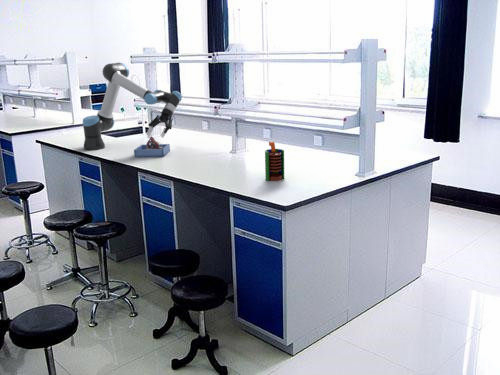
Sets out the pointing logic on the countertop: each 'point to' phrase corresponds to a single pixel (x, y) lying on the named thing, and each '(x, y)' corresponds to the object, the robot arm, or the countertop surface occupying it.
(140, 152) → the parts bin
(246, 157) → the countertop surface
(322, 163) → the countertop surface
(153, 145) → the brake caliper
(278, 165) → the motor
